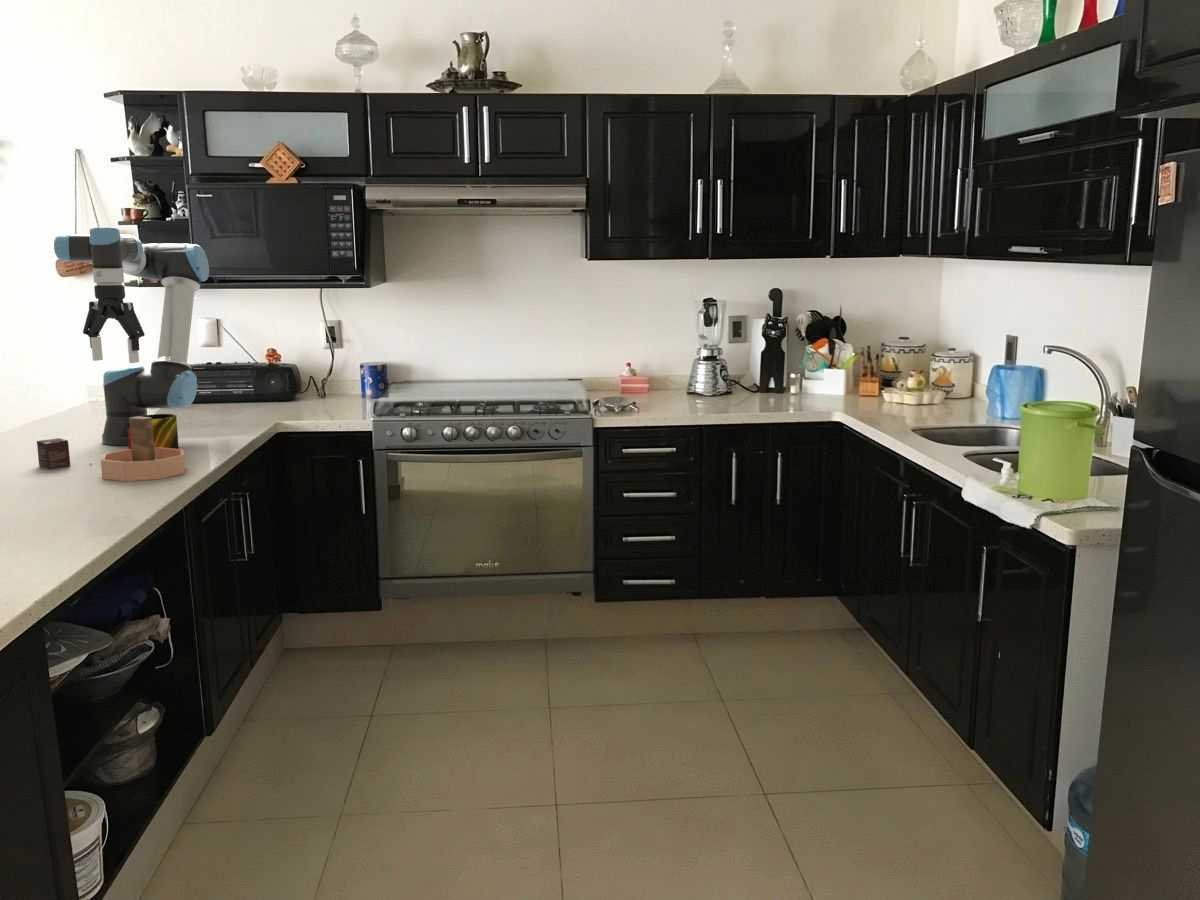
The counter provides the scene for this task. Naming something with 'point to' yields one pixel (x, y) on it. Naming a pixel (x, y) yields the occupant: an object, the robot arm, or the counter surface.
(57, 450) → the box
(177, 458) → the octagonal terracotta bowl
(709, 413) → the counter surface
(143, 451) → the wooden rectangular block
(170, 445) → the mug
